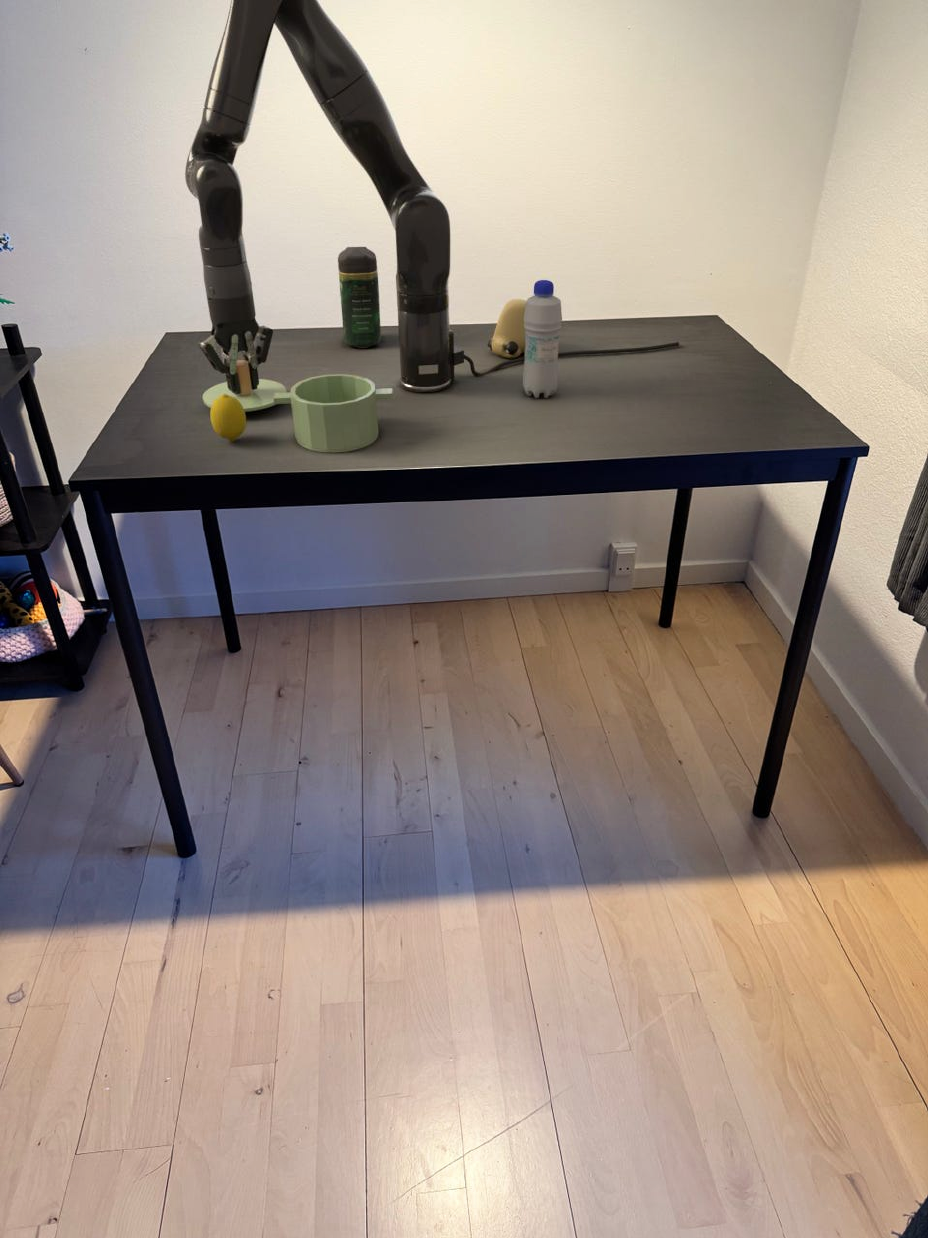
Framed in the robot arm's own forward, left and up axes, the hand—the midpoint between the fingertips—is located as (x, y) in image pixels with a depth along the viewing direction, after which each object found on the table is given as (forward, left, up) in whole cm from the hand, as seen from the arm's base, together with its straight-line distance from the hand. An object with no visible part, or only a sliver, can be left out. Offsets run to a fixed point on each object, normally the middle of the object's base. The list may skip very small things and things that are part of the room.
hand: (244, 390), depth 157 cm
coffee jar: (-37, -14, -3) cm, 39 cm away
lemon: (+10, +12, -3) cm, 16 cm away
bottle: (-42, +32, -3) cm, 53 cm away
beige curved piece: (-55, +13, -3) cm, 57 cm away
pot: (-4, +22, -3) cm, 23 cm away
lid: (0, 0, -1) cm, 1 cm away
